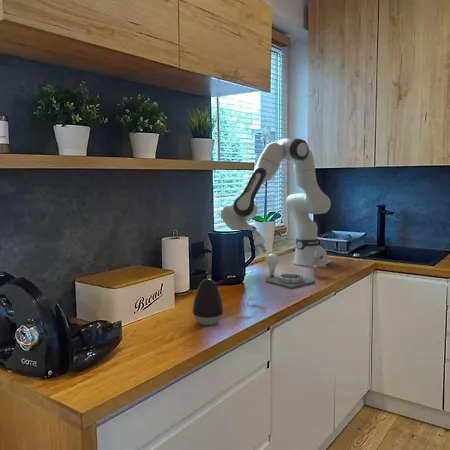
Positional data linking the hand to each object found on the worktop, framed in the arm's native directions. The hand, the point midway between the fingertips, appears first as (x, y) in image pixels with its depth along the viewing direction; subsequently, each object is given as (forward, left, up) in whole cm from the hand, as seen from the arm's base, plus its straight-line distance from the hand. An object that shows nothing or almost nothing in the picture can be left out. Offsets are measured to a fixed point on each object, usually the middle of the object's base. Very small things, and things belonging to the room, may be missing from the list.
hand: (261, 253), depth 223 cm
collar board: (+1, +20, -11) cm, 23 cm away
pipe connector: (-18, +19, -11) cm, 28 cm away
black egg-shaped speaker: (+64, +41, -11) cm, 77 cm away
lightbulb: (-2, +5, -11) cm, 12 cm away
